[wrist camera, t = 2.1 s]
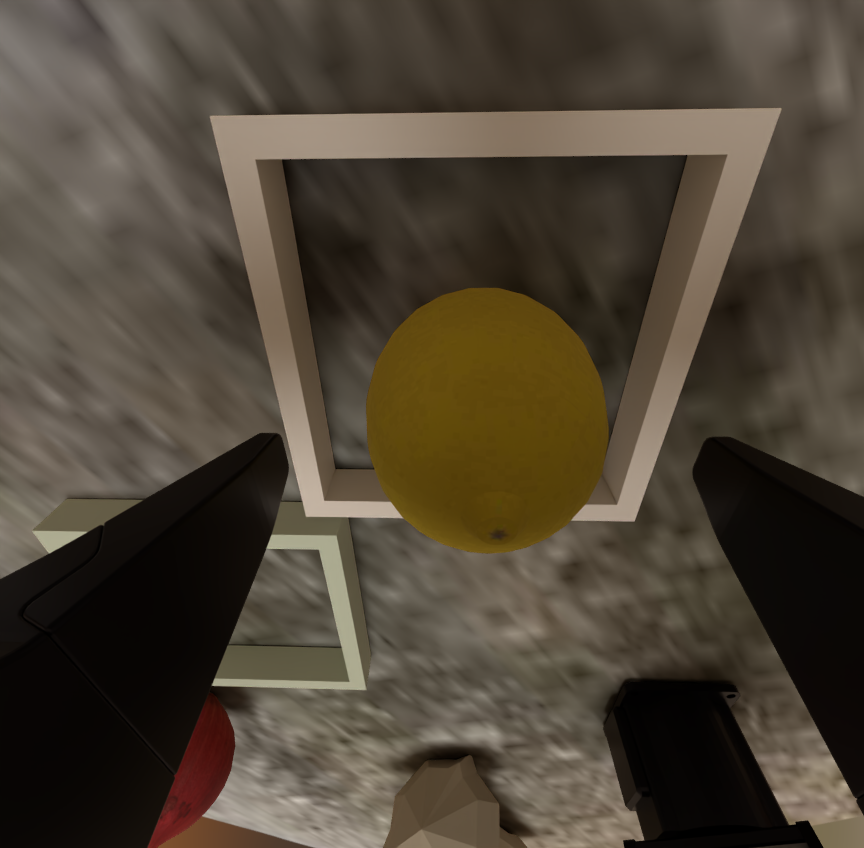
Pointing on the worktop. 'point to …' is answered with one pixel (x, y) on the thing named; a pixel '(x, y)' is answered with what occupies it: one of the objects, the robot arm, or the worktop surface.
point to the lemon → (486, 421)
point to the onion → (198, 773)
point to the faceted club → (447, 810)
